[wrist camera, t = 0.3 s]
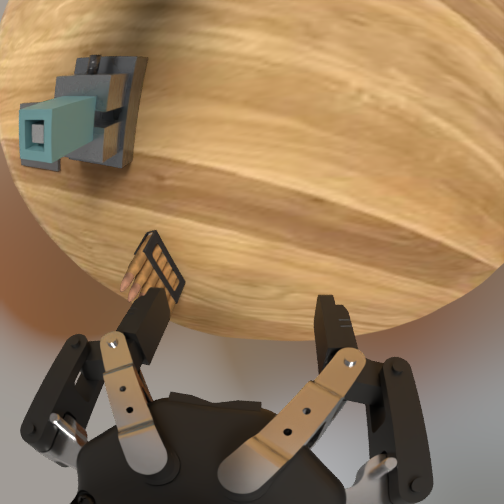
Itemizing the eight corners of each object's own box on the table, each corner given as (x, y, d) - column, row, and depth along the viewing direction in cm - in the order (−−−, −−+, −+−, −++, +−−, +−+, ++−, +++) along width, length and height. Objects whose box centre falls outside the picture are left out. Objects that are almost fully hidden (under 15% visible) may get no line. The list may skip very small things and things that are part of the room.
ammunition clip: (185, 282, 44) (165, 340, 34) (176, 284, 44) (155, 341, 35) (156, 229, 38) (122, 284, 29) (146, 232, 39) (111, 286, 29)
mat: (22, 103, 25) (20, 104, 25) (61, 101, 26) (59, 102, 26) (23, 163, 32) (21, 165, 31) (60, 170, 33) (58, 171, 32)
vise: (90, 56, 23) (15, 64, 12) (148, 55, 24) (79, 53, 13) (81, 152, 31) (17, 193, 20) (132, 160, 32) (73, 208, 21)
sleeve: (63, 96, 20) (19, 109, 14) (96, 96, 20) (52, 109, 15) (61, 137, 23) (20, 158, 17) (92, 140, 23) (51, 163, 18)
